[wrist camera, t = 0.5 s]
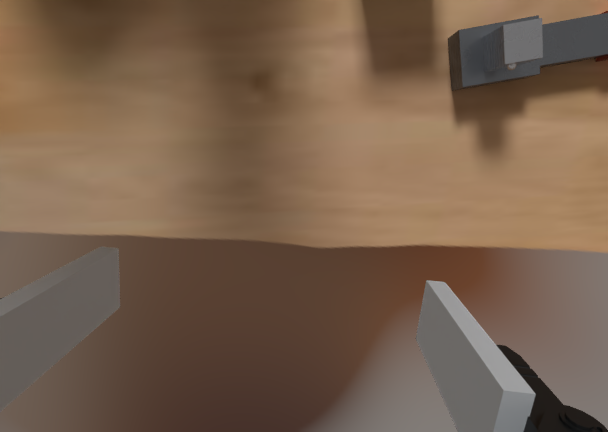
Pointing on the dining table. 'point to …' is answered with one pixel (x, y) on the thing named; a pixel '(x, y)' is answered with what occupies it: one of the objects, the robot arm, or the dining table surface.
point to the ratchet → (523, 48)
